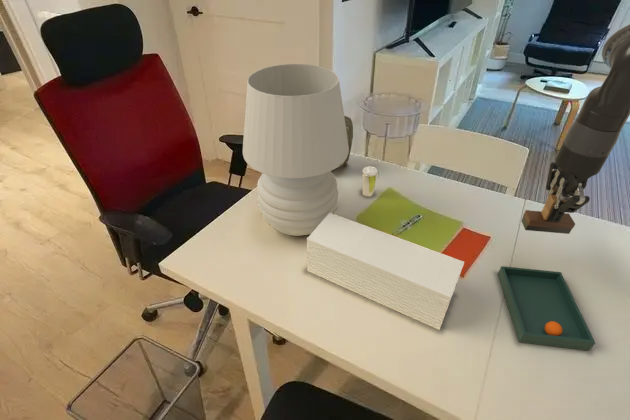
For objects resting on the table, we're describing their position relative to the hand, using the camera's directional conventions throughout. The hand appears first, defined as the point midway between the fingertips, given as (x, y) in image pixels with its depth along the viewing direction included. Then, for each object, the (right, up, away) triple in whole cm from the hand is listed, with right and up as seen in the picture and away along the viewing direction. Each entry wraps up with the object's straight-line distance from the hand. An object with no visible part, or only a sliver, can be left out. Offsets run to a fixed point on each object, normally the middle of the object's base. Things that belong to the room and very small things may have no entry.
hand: (550, 216), depth 80 cm
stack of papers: (-36, -16, +7) cm, 40 cm away
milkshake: (-34, +6, +34) cm, 48 cm away
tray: (-2, -20, +1) cm, 20 cm away
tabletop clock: (-46, +15, +45) cm, 66 cm away
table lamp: (-55, -2, +24) cm, 60 cm away
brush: (0, -2, +2) cm, 3 cm away
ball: (-3, -22, -5) cm, 23 cm away
